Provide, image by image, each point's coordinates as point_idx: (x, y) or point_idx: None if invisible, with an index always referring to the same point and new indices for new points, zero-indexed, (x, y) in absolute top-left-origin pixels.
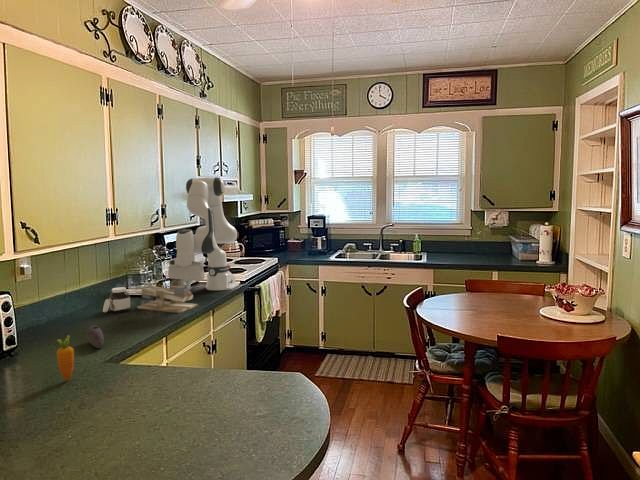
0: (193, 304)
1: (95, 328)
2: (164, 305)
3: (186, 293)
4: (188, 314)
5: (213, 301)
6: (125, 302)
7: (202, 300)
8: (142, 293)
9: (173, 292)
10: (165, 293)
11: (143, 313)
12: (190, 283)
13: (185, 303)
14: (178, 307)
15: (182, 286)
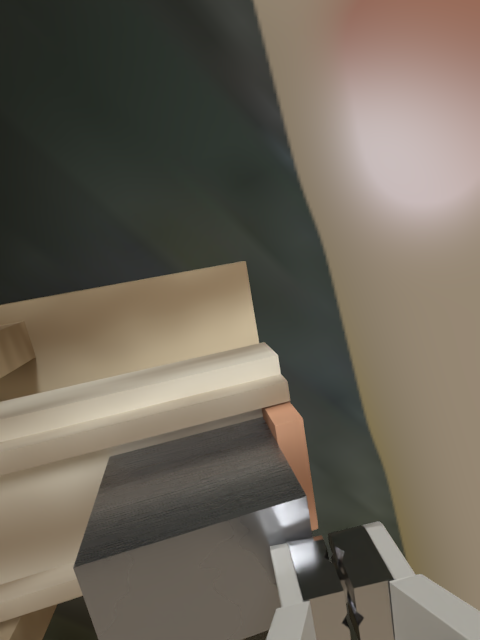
0: (222, 293)
1: None
2: None
3: (315, 509)
4: (368, 471)
5: (244, 27)
6: None
7: (100, 51)
8: None
9: (2, 484)
10: (7, 607)
11: (59, 621)
12: (457, 616)
13: (120, 306)
14: None
15: (190, 562)
